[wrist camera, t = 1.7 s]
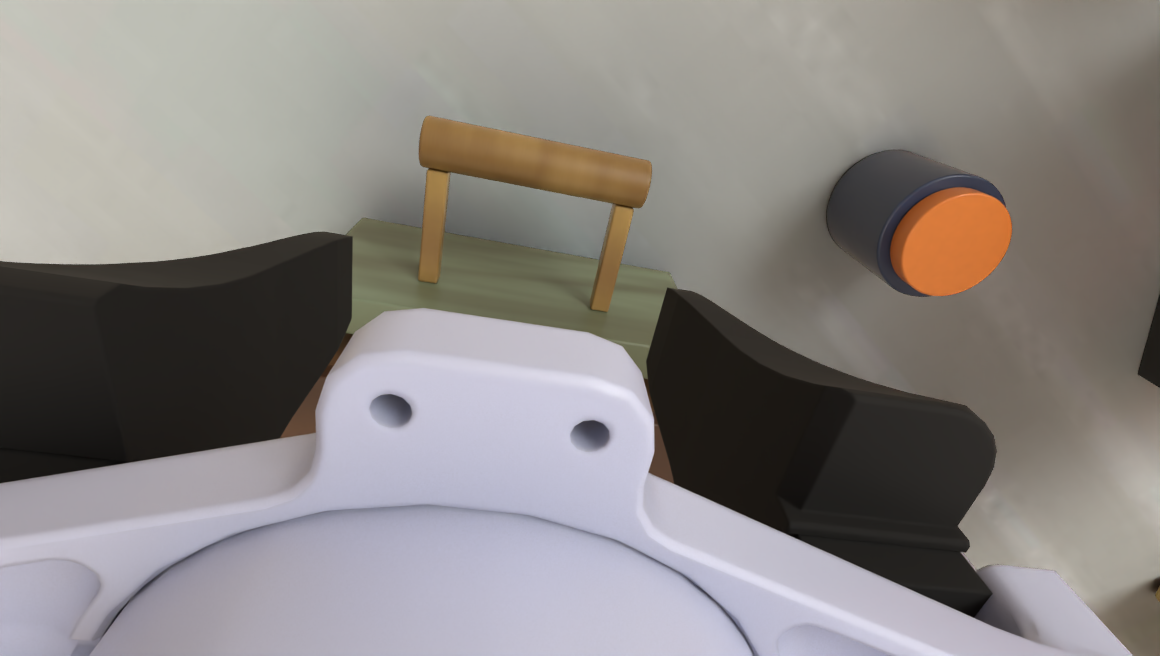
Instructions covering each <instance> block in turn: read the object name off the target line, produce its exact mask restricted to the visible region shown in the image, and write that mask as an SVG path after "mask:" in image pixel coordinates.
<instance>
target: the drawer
mask: <svg viewBox="0 0 1160 656" xmlns="http://www.w3.org/2000/svg"><path fill="white" fill-rule="evenodd" d="M419 161H420V165H421V166H423V167H426V168H429V169H428V170H427V176H426V188H425V200H424V212H423V224H422V228H418V227H412V226H407V225H401V224H396V223H390V222H385V221H379V220H373V219H368V218H362V219H361V220H360V221H359V222H358V223H357V224H356V225H355V226H354V227H353V228H352V229H351V230H350V231H349V232H348V233H347V234H346V235H347V236H353V259H352V319H351V322H350V324H349V326H348V329H347V331H346V333H345V336H344V338H343V340H342V342H341V344H340V346H339V349H338V351H337V352H336V354H335V355H334V357H333V358H332V360H331V361H330V363H329V364H328V365H329V366H334V364H335V363H336V361H337V360H338V358H339V356H340V355H341V353H342V352H343V350H344V349H345V347H346V345H347V344H348V342H349V341H350V339H351V338H352V336H353V334H354V333H355V331H357V330H358V329H360V328H361V327H363V326H364V325H366V324H367V323H368V322H370V321H371V320H373V319H374V318H376V317H377V316H379V315H380V314H381V313H383V312H384V311H395V310H407V309H419V308H427V309H434V310H441V311H448V312H454V313H461V314H468V315H474V316H481V317H488V318H495V319H501V320H508V321H515V322H521V323H528V324H535V325H542V326H548V327H555V328H562V329H568V330H575V331H582V332H589V333H591V334H593V335H596V336H598V337H601V338H603V339H606V340H608V341H611V342H613V343H615V344H618V345H620V346H622V347H623V348H624V349H625V351H626V352H627V353H628V355H629V356H630V357H631V359H632V360H633V361H634V363H635V364H636V365H637V367H638V368H639V369H640V371H641V372H642V375H643V379H644V383H645V387H646V391H647V394H648V398H649V402H650V406H651V410H652V412H655V411H654V408H653V404H652V401H651V397H650V392H649V385H648V376H647V365H646V360H647V356H648V353H649V349H650V346H651V342H652V339H653V335H654V332H655V328H656V325H657V321H658V318H659V314H660V311H661V307H662V304H663V300H664V297H665V293H666V290H667V287H668V288H674V289H677V287H676V285H675V283H674V281H673V279H672V276H671V274H670V273H669V272H664V271H658V270H653V269H647V268H642V267H636V266H630V265H625V264H620V263H621V259H622V255H623V251H624V248H625V244H626V240H627V236H628V232H629V228H630V224H631V220H632V216H633V212H634V210H633V208H641V207H642V206H643V204H644V203H645V200H646V198H647V195H648V192H649V188H650V183H651V176H652V165H651V162H650V161H648V160H643V159H638V158H633V157H628V156H623V155H619V154H614V153H609V152H604V151H599V150H594V149H589V148H584V147H580V146H575V145H570V144H565V143H560V142H555V141H550V140H545V139H541V138H536V137H531V136H526V135H521V134H516V133H511V132H506V131H502V130H497V129H492V128H487V127H482V126H477V125H472V124H467V123H463V122H458V121H453V120H448V119H443V118H438V117H433V116H426V117H425V119H424V121H423V124H422V128H421V133H420V140H419ZM450 172H452V173H457V174H463V175H468V176H473V177H478V178H483V179H488V180H494V181H499V182H504V183H509V184H514V185H520V186H525V187H530V188H535V189H540V190H545V191H551V192H556V193H561V194H566V195H571V196H576V197H582V198H587V199H592V200H597V201H602V202H608V203H613V205H612V209H611V213H610V217H609V222H608V226H607V230H606V234H605V239H604V243H603V247H602V251H601V256H600V260H597V259H591V258H586V257H580V256H575V255H569V254H563V253H558V252H552V251H547V250H541V249H535V248H530V247H524V246H519V245H513V244H507V243H502V242H496V241H491V240H485V239H480V238H474V237H468V236H463V235H457V234H452V233H446V232H444V231H445V222H446V212H447V202H448V192H449V182H450Z"/></svg>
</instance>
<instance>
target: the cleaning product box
mask: <svg viewBox="0 0 1160 656" xmlns="http://www.w3.org/2000/svg"><path fill="white" fill-rule="evenodd" d="M1138 375H1140V376H1141V377H1143V378H1145V379H1146V380H1148V381H1150V382H1151V383H1153V384H1155V385H1156V386H1158V387H1160V297H1159V301H1158V305H1157V308H1156V312H1155V315H1154V319H1153V322H1152V326H1151V330H1150V333H1149V337H1148V340H1147V344H1146V347H1145V351H1144V355H1143V358H1142V362H1141V365H1140V369H1139V373H1138Z"/></svg>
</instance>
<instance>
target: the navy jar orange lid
mask: <svg viewBox="0 0 1160 656" xmlns="http://www.w3.org/2000/svg"><path fill="white" fill-rule="evenodd" d="M827 225H828V229H829V232H830V235H831V237H832V238H833V240H834V241H835V243H836V244H837V245H838V246H839V247H840V248H841V249H843V250H844V251H845V252H847V253H848V254H849V255H850V256H852V257H853V258H854V259H856V260H857V261H858V262H860V263H861V264H862V265H863V266H865V267H866V268H867V269H869V270H870V271H871V272H872V273H874V274H875V275H876V276H878V277H879V278H880V279H882V280H883V281H884V282H885V283H887V284H888V285H889V286H891V287H892V288H893V289H895V290H897V291H899V292H901V293H903V294H907V295H910V296H918V297H927V296H947V295H952V294H957V293H960V292H962V291H965V290H967V289H969V288H971V287H973V286H975V285H976V284H978V283H979V282H981V281H982V280H984V279H985V278H986V277H987V276H988V275H989V274H990V273H991V272H992V271H993V270H994V269H995V268H996V267H997V266H998V264H999V263H1000V262H1001V260H1002V259H1003V257H1004V255H1005V253H1006V251H1007V249H1008V246H1009V244H1010V240H1011V235H1012V223H1011V218H1010V215H1009V213H1008V211H1007V209H1006V205H1005V202H1004V200H1003V197H1002V195H1001V194H1000V192H999V191H998V189H997V188H996V187H995V186H994V185H993V184H992V183H990V182H989V181H987V180H985V179H983V178H981V177H979V176H976V175H973V174H970V173H968V172H965V171H962V170H959V169H956V168H954V167H951V166H948V165H945V164H942V163H940V162H937V161H934V160H931V159H928V158H926V157H923V156H920V155H917V154H914V153H911V152H908V151H903V150H888V151H882V152H879V153H875V154H873V155H870V156H868V157H866V158H864V159H863V160H861V161H859V162H858V163H857V164H855V165H854V166H853V167H852V168H850V169H849V170H848V171H847V172H846V173H845V174H844V175H843V177H842V178H841V179H840V180H839V182H838V183H837V185H836V187H835V188H834V190H833V192H832V194H831V197H830V200H829V204H828V208H827Z"/></svg>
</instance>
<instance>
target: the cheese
mask: <svg viewBox="0 0 1160 656" xmlns="http://www.w3.org/2000/svg"><path fill="white" fill-rule="evenodd" d="M1155 596H1156V598H1157V600H1158V601H1159V602H1160V587H1159V588H1158V590H1157V592H1156V594H1155Z"/></svg>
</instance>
